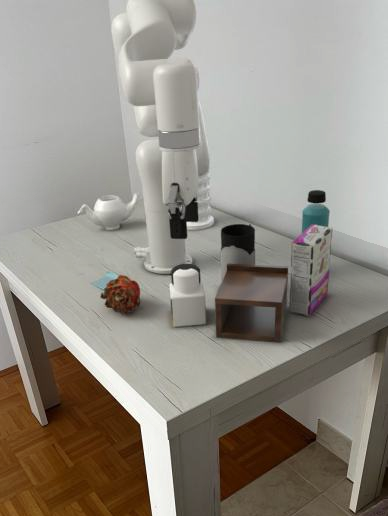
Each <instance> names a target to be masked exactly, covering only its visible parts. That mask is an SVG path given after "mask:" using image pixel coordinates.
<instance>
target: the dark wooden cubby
mask: <svg viewBox="0 0 388 516" xmlns="http://www.w3.org/2000/svg"><path fill="white" fill-rule="evenodd" d="M288 282H289V266H288V265H267V264H265V265H264V264H255V265H248V264H227V271H226V274H225V276H224V278H223V281H222V283H221V282H220V286H219V288H218V291H217V293H216V295H215V298H214V308H215V309H214V312H215V337H216V338H220V339H233V340H245V341H256V342H257V341H258V342H270V343H271V342H272V343H281V340H282V335H283V330H284V324H285V319H286V315H287V309H288V307H287V306H288V302H287V301H288V288H289V287H288V286H289V285H288V284H289V283H288Z"/></svg>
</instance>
